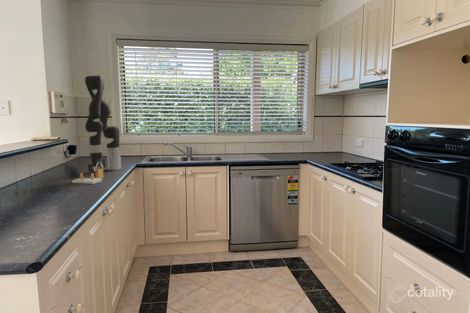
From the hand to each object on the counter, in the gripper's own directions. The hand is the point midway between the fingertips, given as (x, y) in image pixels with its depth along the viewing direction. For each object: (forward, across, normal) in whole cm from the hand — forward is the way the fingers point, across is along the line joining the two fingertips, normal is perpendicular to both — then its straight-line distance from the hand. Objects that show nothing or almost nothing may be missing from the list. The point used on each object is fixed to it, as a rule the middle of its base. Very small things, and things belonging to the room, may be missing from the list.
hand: (97, 175), depth 214 cm
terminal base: (+2, +12, +1) cm, 12 cm away
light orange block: (+2, 0, 0) cm, 2 cm away
